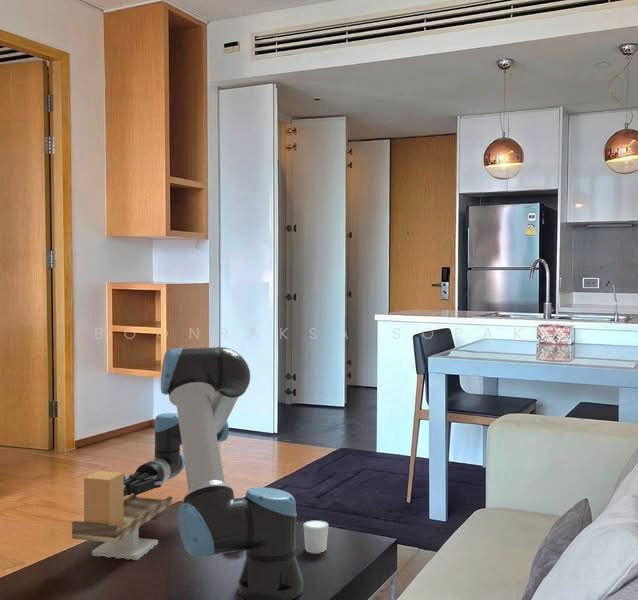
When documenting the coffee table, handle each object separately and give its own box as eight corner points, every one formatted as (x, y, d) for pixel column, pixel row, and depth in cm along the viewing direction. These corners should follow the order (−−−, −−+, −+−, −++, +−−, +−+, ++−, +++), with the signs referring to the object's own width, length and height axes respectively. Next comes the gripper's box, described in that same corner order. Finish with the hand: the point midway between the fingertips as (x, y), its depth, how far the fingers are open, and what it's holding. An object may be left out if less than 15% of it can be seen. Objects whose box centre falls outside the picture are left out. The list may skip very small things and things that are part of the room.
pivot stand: (137, 560, 187) (137, 537, 187) (91, 555, 190) (91, 532, 190) (157, 544, 199) (157, 522, 199) (115, 540, 202) (115, 518, 202)
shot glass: (332, 552, 194) (332, 526, 194) (307, 555, 191) (308, 529, 191) (323, 543, 200) (323, 518, 200) (299, 546, 198) (299, 521, 198)
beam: (115, 553, 178) (115, 525, 177) (72, 548, 180) (72, 521, 180) (171, 513, 209) (172, 489, 209) (134, 510, 212) (134, 486, 211)
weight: (109, 536, 179) (109, 479, 178) (84, 533, 180) (84, 477, 180) (123, 526, 186) (123, 472, 185) (99, 524, 187) (98, 470, 187)
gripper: (173, 488, 208) (133, 513, 185) (131, 485, 211) (87, 509, 188) (173, 462, 208) (133, 484, 185) (131, 459, 211) (87, 480, 188)
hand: (110, 497), depth 187 cm, fingers closed
